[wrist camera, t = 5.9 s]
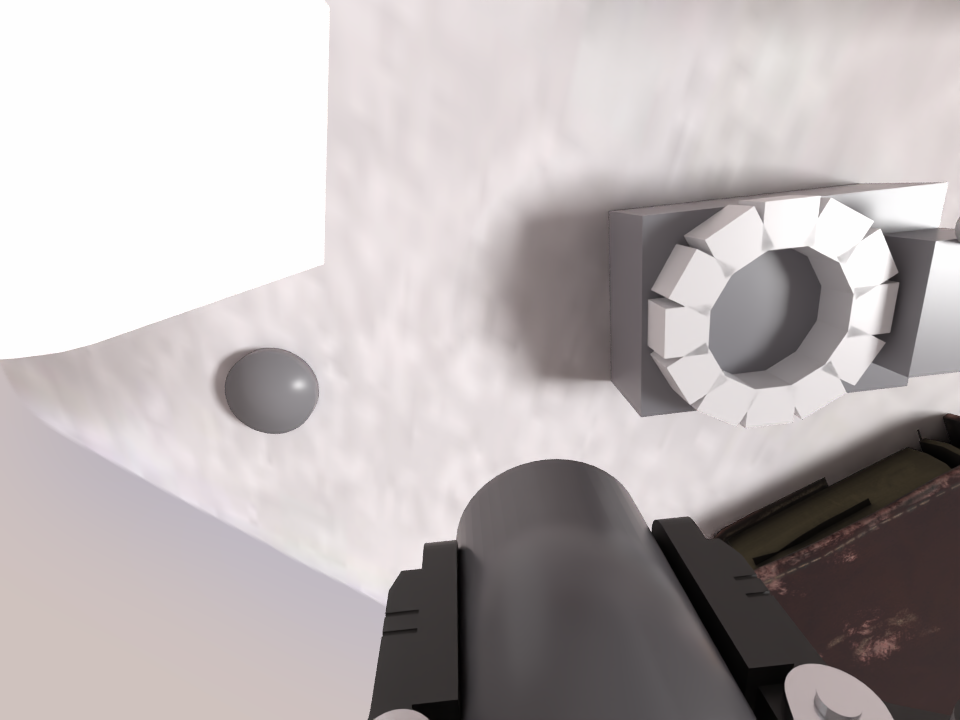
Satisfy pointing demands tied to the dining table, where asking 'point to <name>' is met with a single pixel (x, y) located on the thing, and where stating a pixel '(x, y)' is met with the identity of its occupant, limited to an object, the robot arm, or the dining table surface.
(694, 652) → the lens
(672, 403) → the camera body
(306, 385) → the grey round disc
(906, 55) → the dining table surface
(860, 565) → the diary
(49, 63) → the milk
